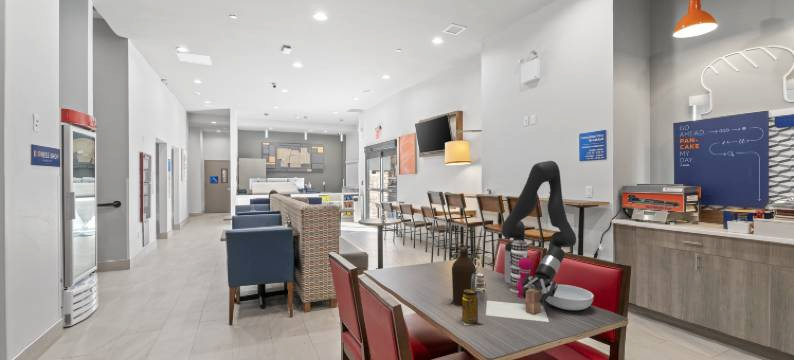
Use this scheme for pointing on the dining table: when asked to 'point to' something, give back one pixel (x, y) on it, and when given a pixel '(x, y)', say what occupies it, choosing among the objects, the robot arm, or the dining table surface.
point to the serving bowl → (570, 297)
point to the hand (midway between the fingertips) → (531, 299)
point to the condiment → (470, 308)
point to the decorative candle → (516, 262)
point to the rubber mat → (513, 311)
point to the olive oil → (462, 276)
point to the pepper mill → (523, 273)
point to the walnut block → (533, 301)
